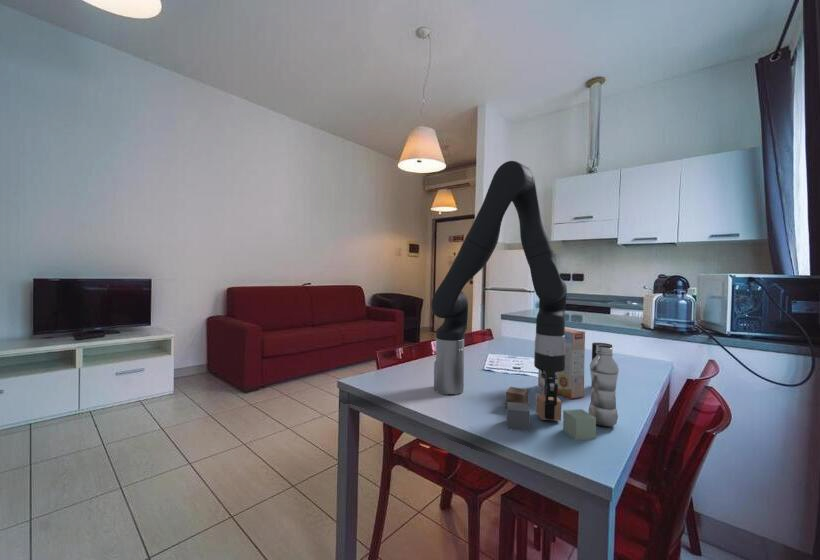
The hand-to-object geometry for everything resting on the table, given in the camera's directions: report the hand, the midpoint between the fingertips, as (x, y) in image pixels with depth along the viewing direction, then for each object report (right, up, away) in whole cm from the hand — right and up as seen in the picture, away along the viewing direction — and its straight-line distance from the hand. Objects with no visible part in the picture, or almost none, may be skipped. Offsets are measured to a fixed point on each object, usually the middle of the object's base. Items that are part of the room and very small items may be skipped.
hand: (548, 413), depth 87 cm
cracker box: (+13, -1, +21) cm, 25 cm away
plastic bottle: (+13, -2, -3) cm, 13 cm away
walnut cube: (-6, -1, +7) cm, 9 cm away
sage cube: (+4, -1, -9) cm, 10 cm away
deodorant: (+29, -1, +25) cm, 38 cm away
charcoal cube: (-10, -1, -5) cm, 11 cm away
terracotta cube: (0, -1, 0) cm, 1 cm away
